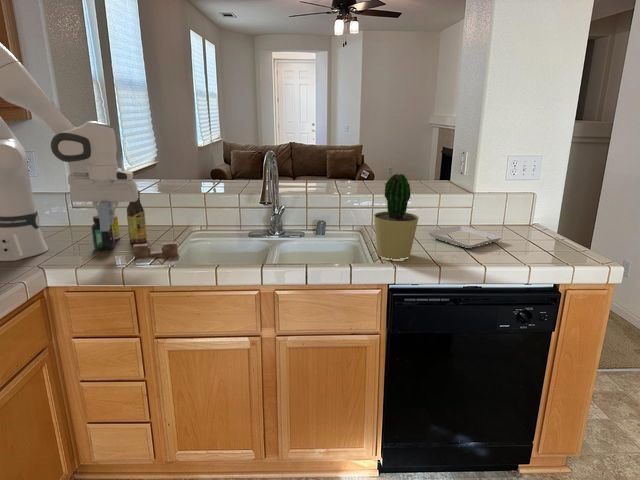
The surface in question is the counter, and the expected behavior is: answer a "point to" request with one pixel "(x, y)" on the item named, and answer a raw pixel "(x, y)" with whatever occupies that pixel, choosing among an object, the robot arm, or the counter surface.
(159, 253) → the notched block
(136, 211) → the sauce bottle
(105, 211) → the blue gray rectangular block
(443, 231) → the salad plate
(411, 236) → the potted cactus
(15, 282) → the counter surface
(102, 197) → the robot arm
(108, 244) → the supplement bottle
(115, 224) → the supplement bottle
